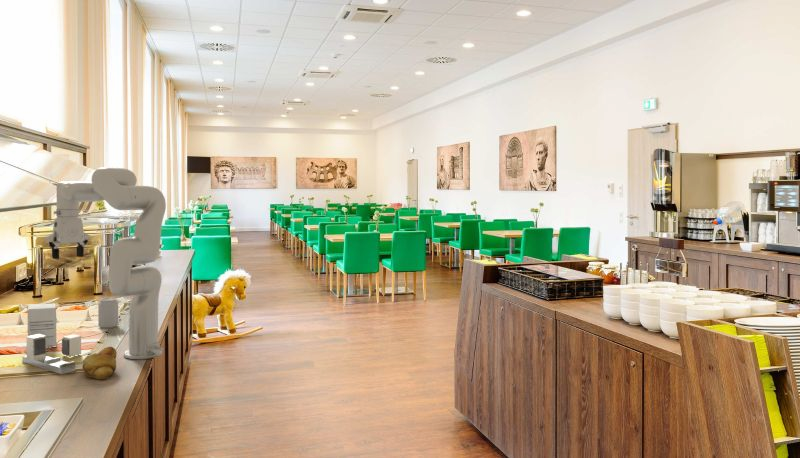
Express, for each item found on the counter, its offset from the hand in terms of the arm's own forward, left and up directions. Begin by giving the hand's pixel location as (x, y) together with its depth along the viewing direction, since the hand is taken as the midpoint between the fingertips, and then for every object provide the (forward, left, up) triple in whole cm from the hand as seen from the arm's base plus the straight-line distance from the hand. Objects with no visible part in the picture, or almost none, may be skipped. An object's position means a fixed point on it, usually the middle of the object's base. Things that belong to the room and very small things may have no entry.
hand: (68, 257), depth 227 cm
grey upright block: (0, -17, -31) cm, 36 cm away
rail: (-32, +26, -31) cm, 51 cm away
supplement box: (-7, +14, -31) cm, 35 cm away
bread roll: (-53, +22, -31) cm, 65 cm away
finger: (-27, +15, -31) cm, 43 cm away
